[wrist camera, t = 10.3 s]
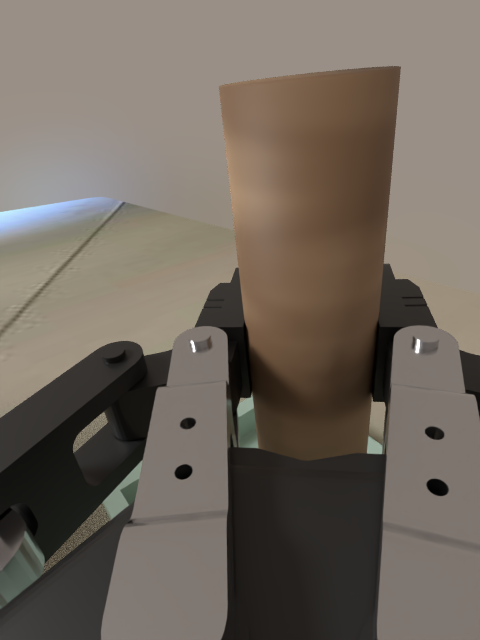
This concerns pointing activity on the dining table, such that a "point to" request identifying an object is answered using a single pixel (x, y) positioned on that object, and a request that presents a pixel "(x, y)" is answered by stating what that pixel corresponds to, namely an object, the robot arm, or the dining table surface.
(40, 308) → the dining table surface
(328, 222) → the dowel
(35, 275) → the dining table surface
